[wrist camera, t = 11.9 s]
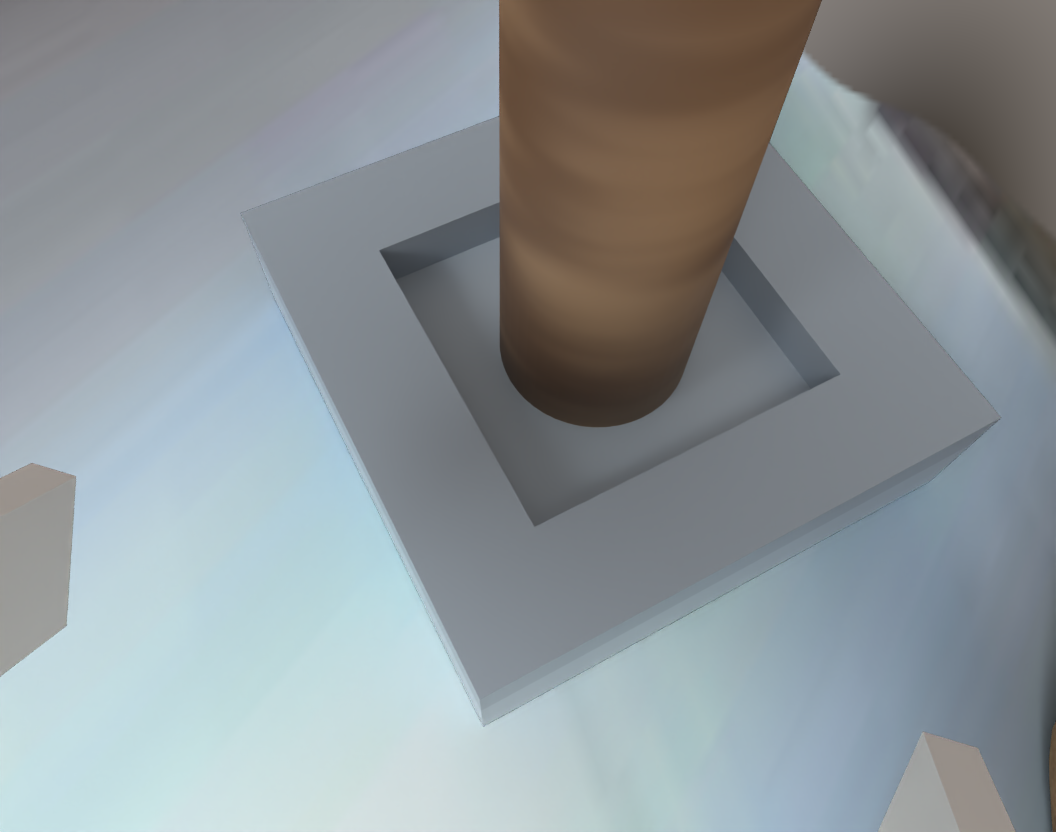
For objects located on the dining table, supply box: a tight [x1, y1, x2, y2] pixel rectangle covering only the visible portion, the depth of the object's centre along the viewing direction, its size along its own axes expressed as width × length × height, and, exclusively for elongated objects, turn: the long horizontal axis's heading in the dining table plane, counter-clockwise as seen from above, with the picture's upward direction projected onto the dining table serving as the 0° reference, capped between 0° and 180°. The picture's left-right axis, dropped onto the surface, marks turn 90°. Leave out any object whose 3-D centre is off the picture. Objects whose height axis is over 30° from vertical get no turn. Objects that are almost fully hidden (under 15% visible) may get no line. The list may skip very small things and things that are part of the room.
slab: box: [241, 116, 1001, 726], centre depth 25 cm, size 14×14×4 cm
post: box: [499, 0, 822, 427], centre depth 19 cm, size 5×5×12 cm
